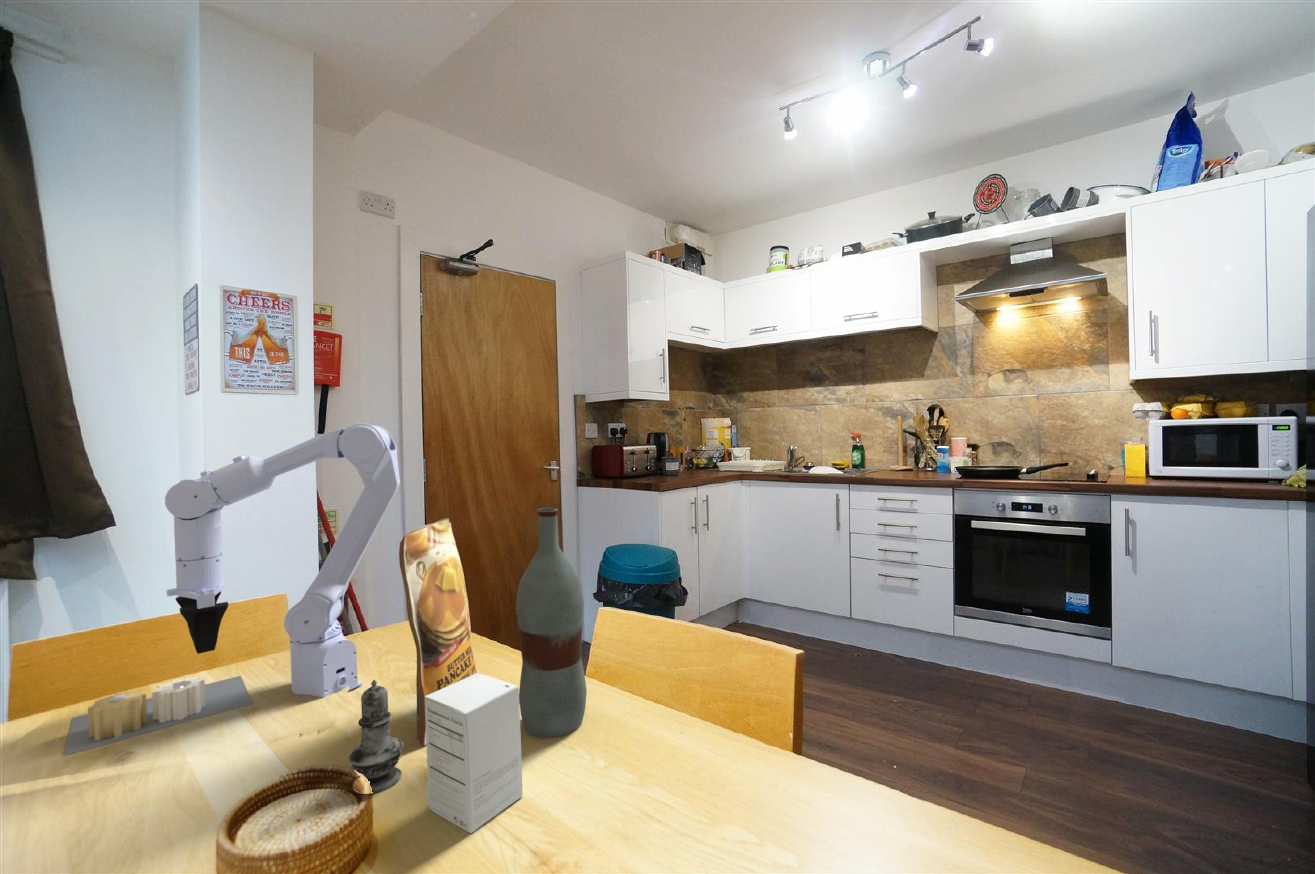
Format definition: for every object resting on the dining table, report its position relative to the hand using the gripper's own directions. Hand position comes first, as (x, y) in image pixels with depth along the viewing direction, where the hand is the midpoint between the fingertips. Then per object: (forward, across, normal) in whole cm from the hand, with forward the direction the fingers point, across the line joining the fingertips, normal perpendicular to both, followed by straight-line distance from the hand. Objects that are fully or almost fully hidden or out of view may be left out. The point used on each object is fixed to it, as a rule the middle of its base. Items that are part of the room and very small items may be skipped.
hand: (203, 644), depth 89 cm
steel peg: (+9, +3, -3) cm, 10 cm away
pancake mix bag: (+10, +30, +25) cm, 41 cm away
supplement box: (+10, +52, +19) cm, 57 cm away
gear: (+8, +3, -3) cm, 9 cm away
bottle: (+10, +44, +35) cm, 57 cm away
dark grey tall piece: (+10, +40, +13) cm, 43 cm away
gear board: (+9, 0, -5) cm, 10 cm away
